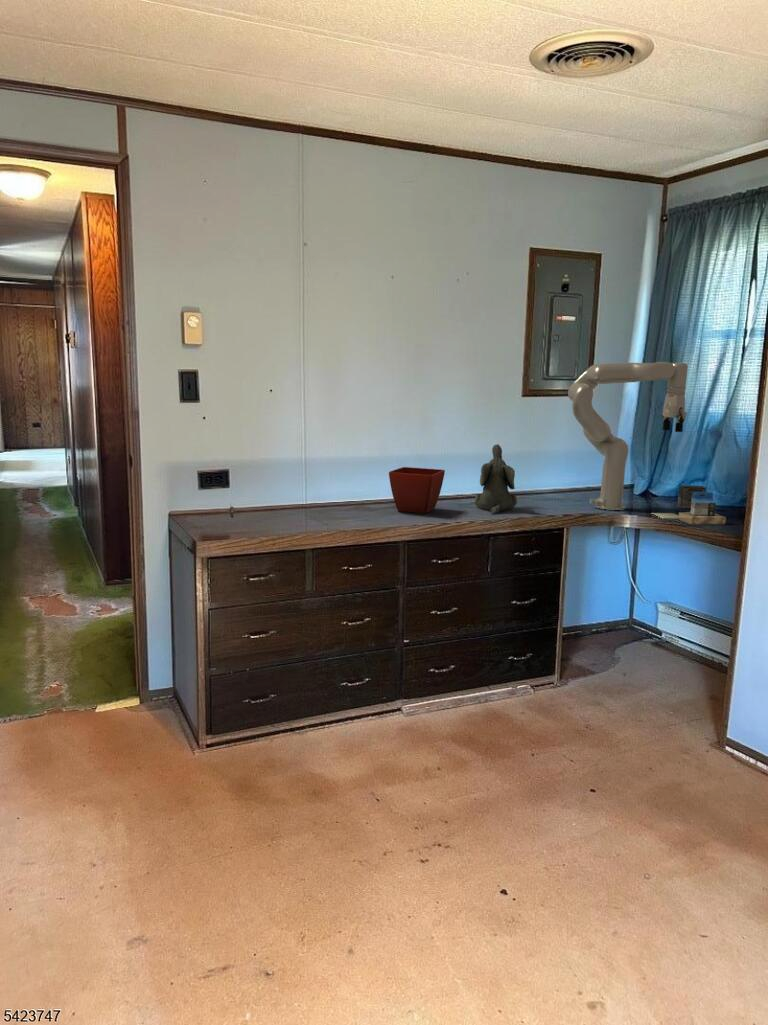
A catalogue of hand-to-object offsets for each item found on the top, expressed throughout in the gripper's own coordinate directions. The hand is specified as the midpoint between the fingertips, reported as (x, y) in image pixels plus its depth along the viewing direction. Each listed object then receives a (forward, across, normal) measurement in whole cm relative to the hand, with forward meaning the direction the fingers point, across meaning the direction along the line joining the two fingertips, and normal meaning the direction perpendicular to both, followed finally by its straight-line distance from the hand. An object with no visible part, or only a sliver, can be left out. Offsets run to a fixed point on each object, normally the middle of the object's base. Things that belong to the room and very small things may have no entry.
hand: (672, 430), depth 335 cm
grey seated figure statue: (+35, -5, -79) cm, 86 cm away
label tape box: (+36, +27, 0) cm, 45 cm away
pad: (+35, +16, -8) cm, 40 cm away
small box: (+36, -3, +14) cm, 39 cm away
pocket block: (+36, +27, 0) cm, 45 cm away
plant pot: (+35, -3, -115) cm, 120 cm away
